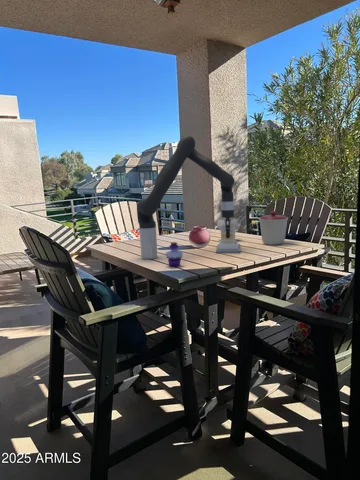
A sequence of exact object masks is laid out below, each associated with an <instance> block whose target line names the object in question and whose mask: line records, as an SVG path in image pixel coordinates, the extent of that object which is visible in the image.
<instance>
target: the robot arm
mask: <svg viewBox="0 0 360 480" xmlns="http://www.w3.org/2000/svg"><path fill="white" fill-rule="evenodd" d="M187 159H189V160H191V161H192V162H193V163H195V164H197V166H199V167H200V168H202V169H203V170H204V171H205V172H206V173H208V174H209V175H210V176H212V178H213V179H216V180H217V181H218V182H219V184H220V190H221V206H220V208H221V209H220V210H221V211H220V212H221V216H220V217H221V218H226V220H225V221H224V223H225V228H226V230H225V231H226V238H230V228H231V220H230V218H234V217H235V202H234V201H235V199H234V192H233V185H234V184H235V178H234V177H233V176H232V175H231V173H229V172H227V171H226V170H224V169H223V168H222V167H221V166H219V164H217V163H216V162H215V161H214V160H212V159H211V158H210V157H207V156H205V155H203V154H202V153H200V152H199V151H197V150H196V139H194V137H193V136H191V135H185V136H182V137H181V138H180V140H179V141H178V142H177V144H176V149H175V151H174V153H173V154H172V155H171V156H170V158H169V159H168V160H167V161H166V163H165V164H164V165H163V166H162V168H161V169H160V171H159V172H158V174H157V175H156V179H155V181H154V185H153V188H152V190H151V192H150V193H149V195H148V196H147V197H146V198H141V199H140V200H138V202H137V204H136V215H137V222H138V225H139V240H140V255H141V256H140V257H141V259H142V260H153V259H157V258H158V243H157V242H158V241H157V222H156V221H155V219H154V214H156V212H157V210H158V208H159V206H160V204H161V203H162V200H163V198H164V197H165V195H166V194H167V192H168V190H169V189H170V188H171V186H172V184H173V183H174V181H175V180H176V178H177V176H178V174H179V173H180V171H181V169H182V167H183V165H184V163H185V161H186V160H187ZM227 228H229V229H227Z"/></svg>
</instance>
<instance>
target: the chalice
mask: <svg viewBox="0 0 360 480" xmlns="http://www.w3.org/2000/svg"><path fill="white" fill-rule="evenodd" d="M225 220H226V218H224V217H222V218H219V219H218V221H217V229H218V230H219V231H221V224H225V223H224V221H225ZM230 220H231V224H235V231H236V230H237V229H238V228H239V223H238V220H237V218H234V217H230ZM219 241H221V238H220V239H219V240H218V242H219ZM235 241H238V240H237V239H236V238H235Z"/></svg>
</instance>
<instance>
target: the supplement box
mask: <svg viewBox="0 0 360 480" xmlns="http://www.w3.org/2000/svg"><path fill="white" fill-rule="evenodd" d="M227 229H229V228H227ZM225 230H226V228H225V224H221V230H220V239H221V244H235V239H236V230H235V224H231V228H230V238H226V231H225Z"/></svg>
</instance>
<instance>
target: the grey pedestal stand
mask: <svg viewBox="0 0 360 480" xmlns="http://www.w3.org/2000/svg"><path fill="white" fill-rule="evenodd" d="M215 254H241V243H239V241H238V240H237V241H235V244H221V241H219V240H218V244H217V246H216V249H215Z"/></svg>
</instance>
